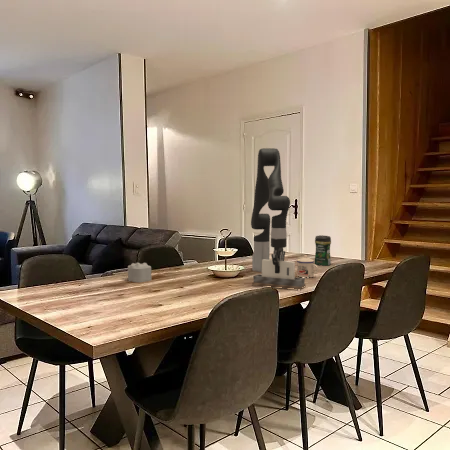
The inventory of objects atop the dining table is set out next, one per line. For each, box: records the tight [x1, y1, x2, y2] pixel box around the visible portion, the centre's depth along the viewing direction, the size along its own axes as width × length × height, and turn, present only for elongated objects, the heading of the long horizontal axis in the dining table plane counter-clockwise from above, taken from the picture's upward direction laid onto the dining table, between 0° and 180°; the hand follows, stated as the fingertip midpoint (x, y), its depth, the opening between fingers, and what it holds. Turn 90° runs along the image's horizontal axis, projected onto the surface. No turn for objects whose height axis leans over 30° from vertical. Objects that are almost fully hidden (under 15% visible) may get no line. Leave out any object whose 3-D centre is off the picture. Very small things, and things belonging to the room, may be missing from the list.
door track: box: [251, 273, 306, 289], centre depth 218 cm, size 24×9×4 cm, turn 63°
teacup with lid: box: [296, 254, 319, 278], centre depth 240 cm, size 12×9×12 cm
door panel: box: [261, 259, 296, 279], centre depth 217 cm, size 16×3×11 cm, turn 63°
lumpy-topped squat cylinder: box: [127, 262, 152, 283], centre depth 235 cm, size 10×13×9 cm
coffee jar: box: [314, 234, 332, 267], centre depth 280 cm, size 10×8×19 cm
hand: (278, 272), depth 217 cm, fingers closed on door panel, 2 cm apart
